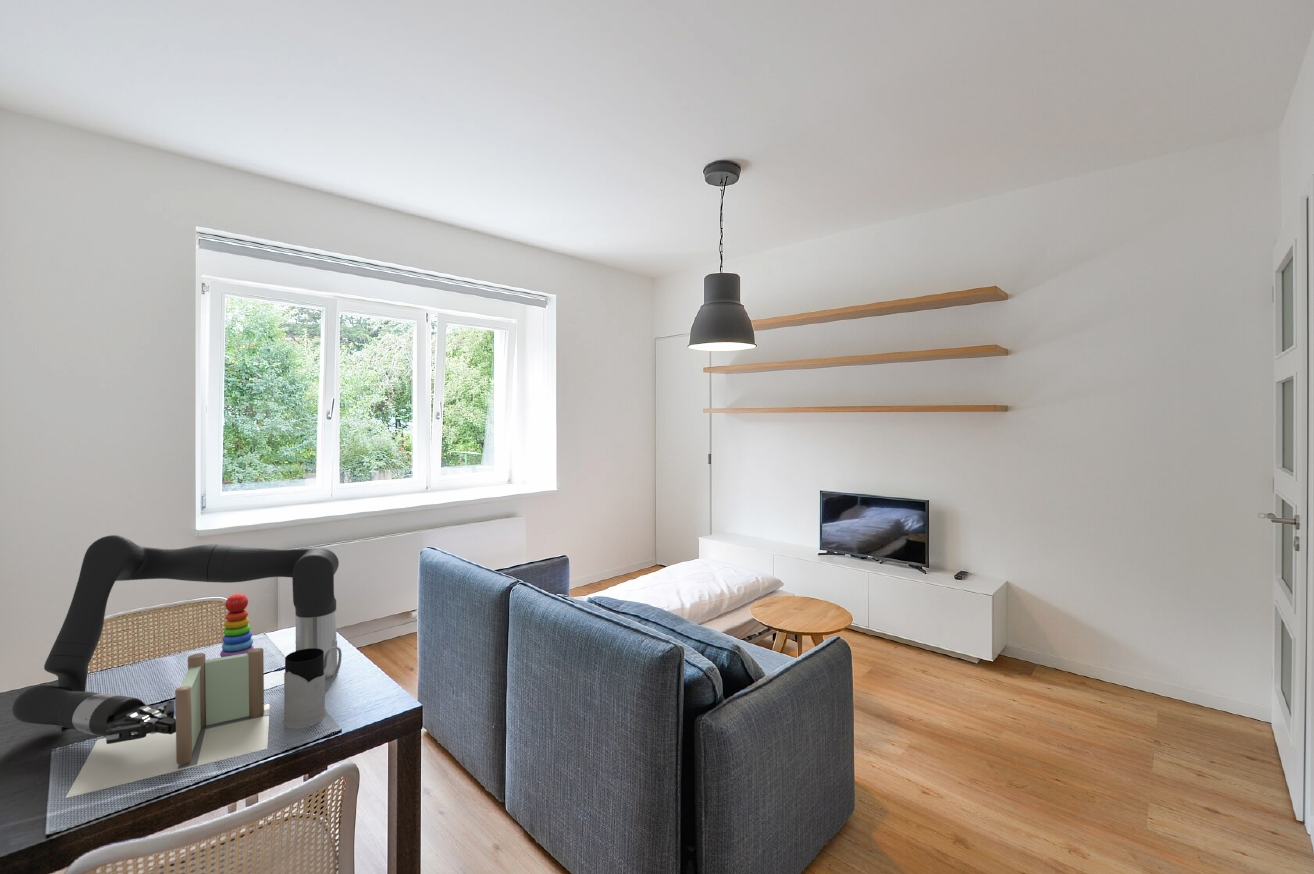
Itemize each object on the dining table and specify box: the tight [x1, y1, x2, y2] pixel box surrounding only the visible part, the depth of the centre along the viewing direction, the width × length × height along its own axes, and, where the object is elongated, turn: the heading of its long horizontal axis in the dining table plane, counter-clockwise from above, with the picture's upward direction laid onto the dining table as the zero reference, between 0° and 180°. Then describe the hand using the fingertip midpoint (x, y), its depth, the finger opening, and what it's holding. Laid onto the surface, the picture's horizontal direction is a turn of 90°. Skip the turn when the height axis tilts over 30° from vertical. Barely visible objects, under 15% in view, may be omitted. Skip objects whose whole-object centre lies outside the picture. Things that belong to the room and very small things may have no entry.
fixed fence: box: [187, 647, 265, 729], centre depth 129 cm, size 14×3×16 cm, turn 123°
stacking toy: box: [219, 593, 255, 658], centre depth 160 cm, size 8×8×19 cm
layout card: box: [65, 703, 271, 799], centre depth 121 cm, size 30×21×1 cm
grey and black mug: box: [282, 646, 343, 729], centre depth 134 cm, size 9×14×15 cm, turn 162°
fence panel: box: [174, 666, 201, 764], centre depth 119 cm, size 14×2×15 cm, turn 30°
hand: (176, 727), depth 115 cm, fingers closed
